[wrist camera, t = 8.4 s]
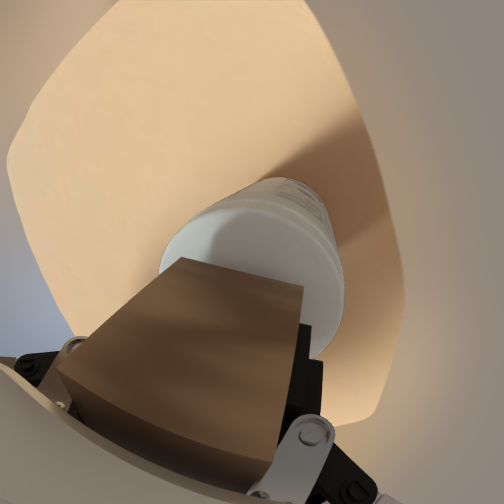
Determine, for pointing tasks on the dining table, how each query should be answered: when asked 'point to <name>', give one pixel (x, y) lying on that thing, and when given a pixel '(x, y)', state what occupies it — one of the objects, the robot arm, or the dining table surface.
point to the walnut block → (193, 372)
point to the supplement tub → (273, 246)
